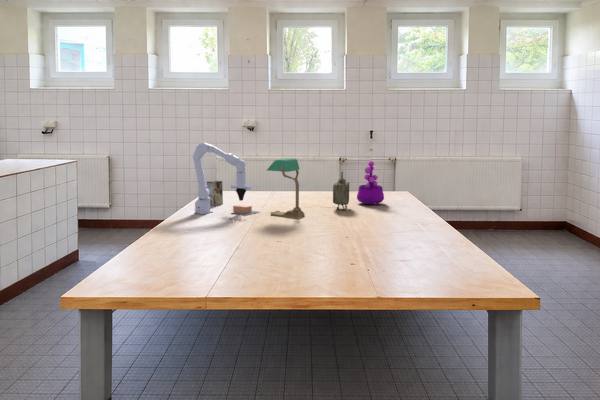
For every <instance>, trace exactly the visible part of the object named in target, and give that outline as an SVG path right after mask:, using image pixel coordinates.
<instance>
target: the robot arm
mask: <svg viewBox="0 0 600 400" xmlns="http://www.w3.org/2000/svg"><path fill="white" fill-rule="evenodd" d="M206 153H214V154H216V155H218V156H220V157H221V158H223V159H224V160H225V162H226V163H228V164H229V165H232V166H233V167H235V168H236V173H235V174H236V175H235V177H236V180H235V181H236V182H235V184H230V188H231V189H235V192H236V194H237V197H238V200H239V201H241V202H242V201H243V200H244V197H245V194H246V192H247V190H248V191H251V190H252V186H250V185H246V184H247V183H246V182H247V181H246V162H245V160H244V159H243V158H241V157H238V156H236V155H234V153H227V152H224V151H223V150H221V149H220V148H219V147H216V146H215V145H212V144H211V143H208V142H204V141H203V142H201V143H199V144H198V145H197V146H196V148H195V151H194V153H193V156H192V159H193V164H194V169H195V174H196V179H197V185H198V186H197V188H198V189H197V190H198V192H197V196H198V198H197V200H195V202H194V212H193V214H200V215H206V214H210V213H211V214H212V213H213V212H214V211H213V210H211V205H210V197H209V194H210V190H209V189H208V187H207V181H206V176H205V171H204V166H203V161H202V158H203V157H204V155H205V154H206Z"/></svg>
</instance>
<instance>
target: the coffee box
mask: <svg viewBox="0 0 600 400" xmlns="http://www.w3.org/2000/svg"><path fill="white" fill-rule="evenodd" d="M206 184H207V187H208V189H209V190H210V194H209V197H210V206H215V207H216V206H219V205H223V204H224V198H223V197H224V195H223V181H222V180H210V181H206Z"/></svg>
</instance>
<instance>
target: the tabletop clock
mask: <svg viewBox="0 0 600 400" xmlns="http://www.w3.org/2000/svg"><path fill="white" fill-rule="evenodd" d="M343 177H344V171H343V170H342V171H340V178H339V179H338V180H337V182H334V184H333V185H332V203H333V204H334V205H337V207H336V209H337V210H339V209H340V205H341V207H342V211H346V209H347V208H348V204H349V202H350V182H349V181H348V182H347V181H346V179H345V178H343Z"/></svg>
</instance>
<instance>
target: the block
mask: <svg viewBox="0 0 600 400" xmlns="http://www.w3.org/2000/svg"><path fill="white" fill-rule="evenodd" d="M232 208H233V209H232V211H233V212H232V213H234V212H236V213H245V214H247V213H251V212H252V211H253V209H252V208H253V207H252V205H247V204H246V205H245V204H235V205H233V207H232Z"/></svg>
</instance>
